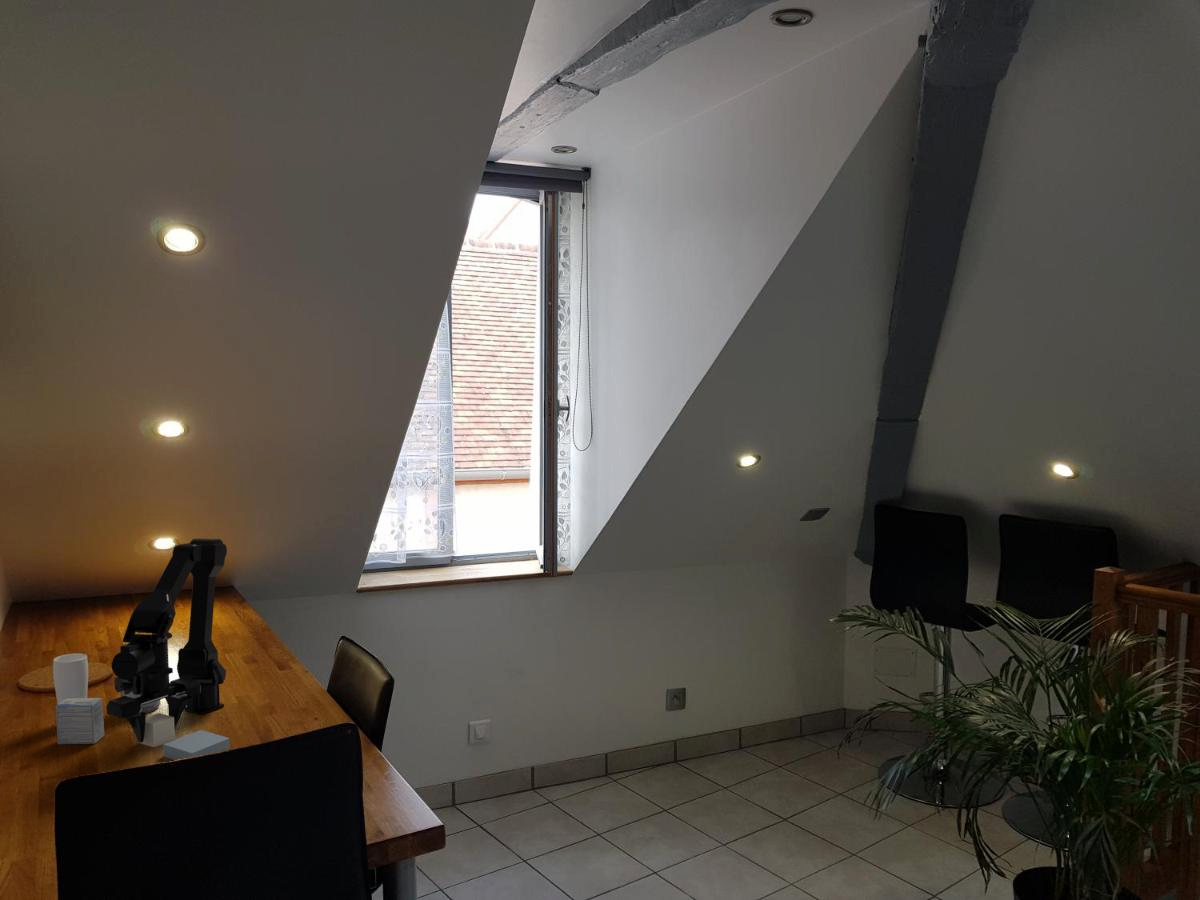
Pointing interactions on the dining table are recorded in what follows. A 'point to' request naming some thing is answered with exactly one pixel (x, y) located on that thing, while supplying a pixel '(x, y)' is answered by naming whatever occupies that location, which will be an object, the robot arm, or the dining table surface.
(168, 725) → the cream cube
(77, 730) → the medicine box
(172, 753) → the slate block
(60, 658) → the drinking glass
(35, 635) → the dining table surface
